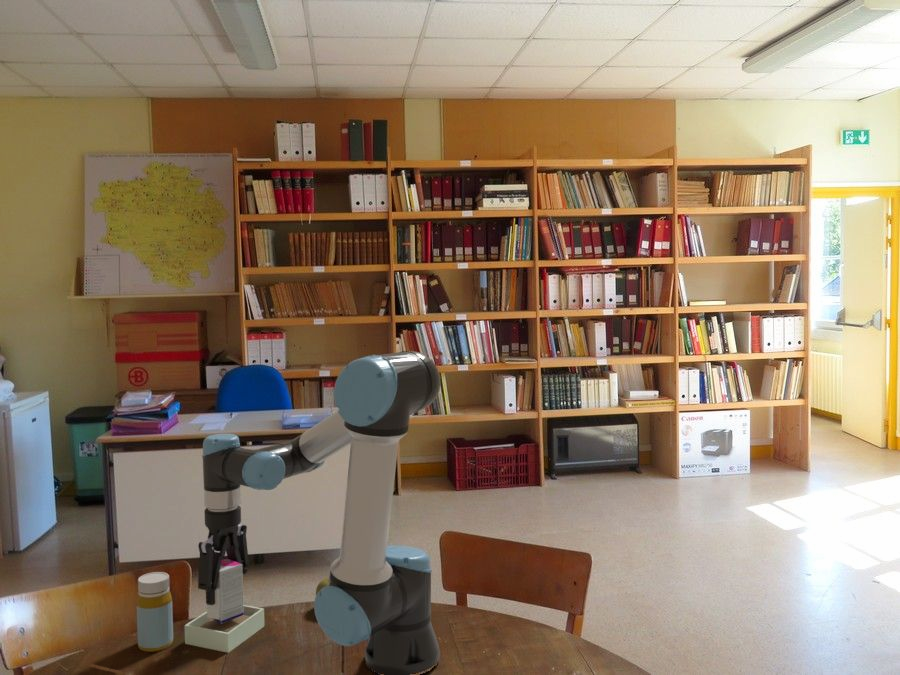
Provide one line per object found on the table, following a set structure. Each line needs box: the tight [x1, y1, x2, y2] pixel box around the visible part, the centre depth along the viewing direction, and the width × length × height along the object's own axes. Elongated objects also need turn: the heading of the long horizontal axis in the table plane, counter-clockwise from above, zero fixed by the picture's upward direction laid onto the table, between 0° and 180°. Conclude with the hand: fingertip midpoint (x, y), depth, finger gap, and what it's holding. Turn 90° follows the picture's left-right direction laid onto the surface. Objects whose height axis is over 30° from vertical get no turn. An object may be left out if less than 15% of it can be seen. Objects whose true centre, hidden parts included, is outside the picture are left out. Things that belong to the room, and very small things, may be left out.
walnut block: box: [200, 615, 250, 633], centre depth 171 cm, size 7×8×3 cm
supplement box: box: [211, 558, 245, 624], centre depth 170 cm, size 6×6×12 cm
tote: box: [184, 604, 265, 653], centre depth 171 cm, size 11×13×4 cm
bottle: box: [136, 571, 174, 653], centre depth 166 cm, size 7×7×15 cm
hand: (225, 610), depth 170 cm, fingers closed on supplement box, 7 cm apart
